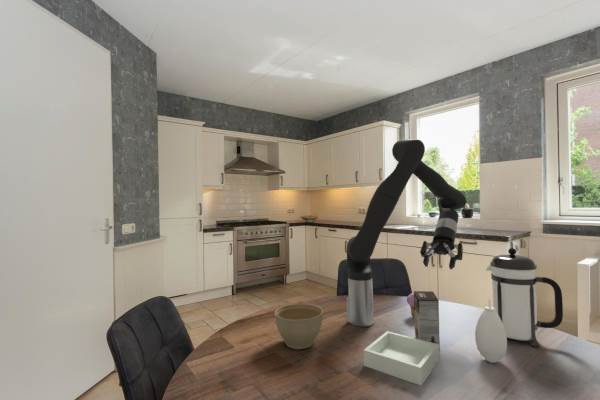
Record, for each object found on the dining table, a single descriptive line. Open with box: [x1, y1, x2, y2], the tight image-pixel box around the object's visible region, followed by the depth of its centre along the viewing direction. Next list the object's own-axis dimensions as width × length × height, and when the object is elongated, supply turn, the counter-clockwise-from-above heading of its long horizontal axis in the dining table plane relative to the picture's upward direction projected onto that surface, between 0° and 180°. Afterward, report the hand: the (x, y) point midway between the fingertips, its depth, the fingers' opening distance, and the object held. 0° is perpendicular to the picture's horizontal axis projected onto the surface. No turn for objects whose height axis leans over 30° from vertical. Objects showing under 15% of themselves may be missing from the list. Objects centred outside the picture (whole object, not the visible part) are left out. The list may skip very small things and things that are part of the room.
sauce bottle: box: [474, 298, 508, 364], centre depth 89 cm, size 8×8×18 cm
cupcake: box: [406, 291, 415, 319], centre depth 124 cm, size 9×9×10 cm
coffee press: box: [485, 247, 564, 348], centre depth 103 cm, size 17×16×30 cm
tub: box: [363, 330, 440, 386], centre depth 90 cm, size 16×16×4 cm
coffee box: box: [413, 290, 441, 352], centre depth 101 cm, size 9×6×16 cm
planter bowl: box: [274, 303, 324, 350], centre depth 104 cm, size 16×16×11 cm
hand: (437, 266), depth 112 cm, fingers open, 8 cm apart
